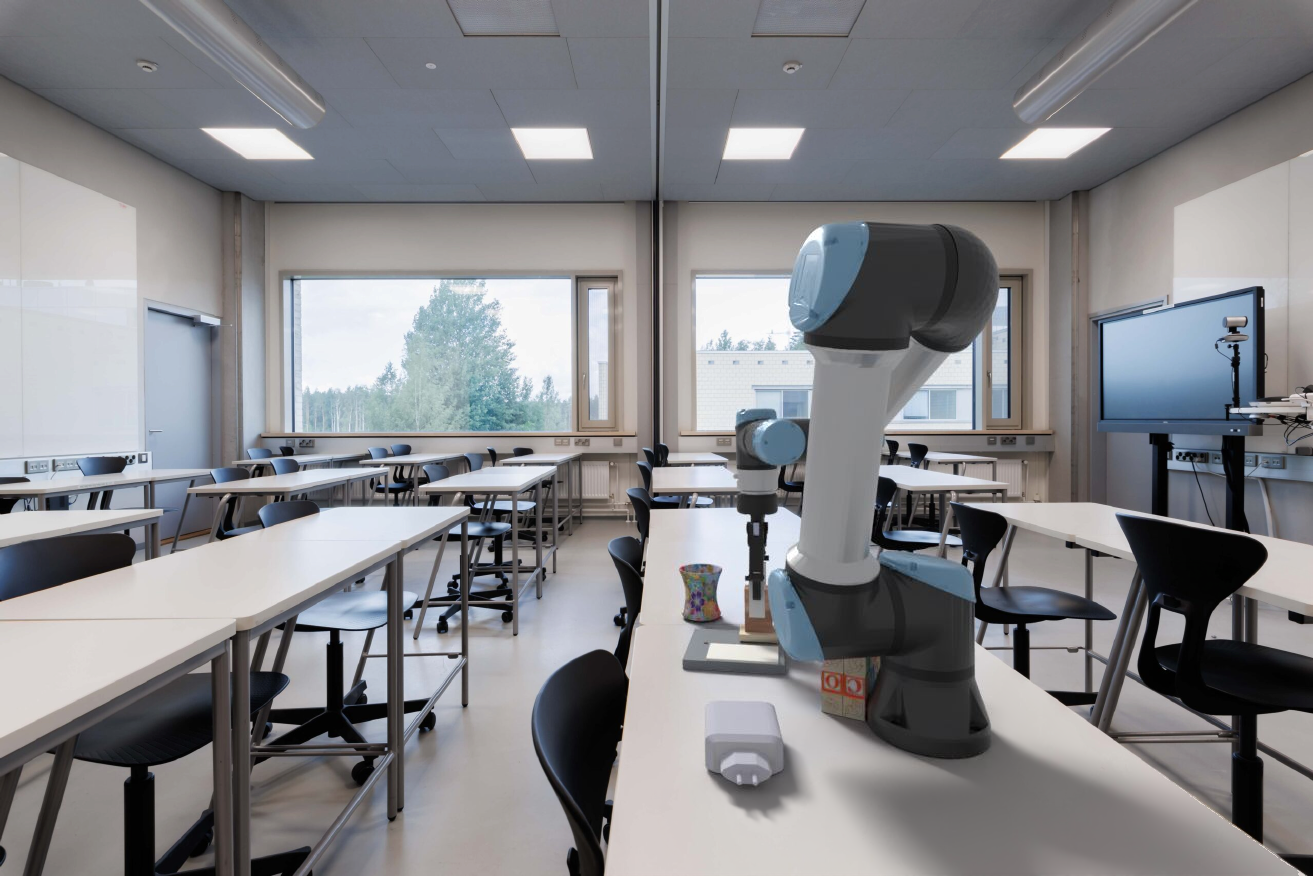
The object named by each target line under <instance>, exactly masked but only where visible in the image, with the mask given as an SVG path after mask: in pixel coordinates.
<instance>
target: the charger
mask: <svg viewBox="0 0 1313 876" xmlns="http://www.w3.org/2000/svg"><path fill="white" fill-rule="evenodd" d="M778 719H779V718H778V715H777V712H776V708H775V705H773V704H772V703H771V702H768V701H761V700H758V701H756V700H711V701H708V702H707V703H706V704H705V706H704V754H705V755H704V758H705V759H704V762H705V764H704V765H705V768H706V769H707V770H708V771H709V772H712V773H717V774H721V775H722V776H723V777H724V778H725V779H727V780H729V781H730V782H733V783H734V784H737V786H739V785H740V786H742V785H753V786H758V785H759V784H760V783H762V782H764V781H767V780H769V778H770V777H771V776H772V775H776V774H778V772H779V773H781V772H782V771H783V770H784V741H783V740H784V739H783V736H782V731H781V728H780V725H779V720H778Z"/></svg>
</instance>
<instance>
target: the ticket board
mask: <svg viewBox="0 0 1313 876" xmlns="http://www.w3.org/2000/svg"><path fill="white" fill-rule="evenodd" d="M739 632H740V630H738V629H737V630H733V629H715V628H714V629H712V628H694V630H693V632H692V635H691V637H690V640H689V642H688V645H687V647H686V650H685V652H684V655H683V657H682V659H681V660H682V669H690V670H704V671H720V672H721V671H722V672H737V673H740V672H741V673H753V674H754V673H756V674H769V675H783V676H784V675H786V674H785V673H786V672H785V670H786V669H785V666H786V665H785V651H784V649H783V647H782V645H781V643H780V641H779V639H778V643H769V642H750V641H739Z"/></svg>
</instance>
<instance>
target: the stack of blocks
mask: <svg viewBox="0 0 1313 876" xmlns="http://www.w3.org/2000/svg"><path fill="white" fill-rule="evenodd" d="M879 667H880V657H868V658H853V659H838V660H824V662H821V671H820V673H821V676H820V681H821V683H820V684H821V712H822V713H828V714H830V715H831V714H832V715H834V716H835V715H836V716H840V717H843V718H848V719H853V720H858V721H862V722H866V720H867V703H868V699H869V696H870V693H871V691H872V688H873V685H874V682H875V679H876V676H877V673H878V670H879Z"/></svg>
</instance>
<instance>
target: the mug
mask: <svg viewBox="0 0 1313 876" xmlns="http://www.w3.org/2000/svg"><path fill="white" fill-rule="evenodd" d="M678 571H679V573H680V575H681V578H682V581H683V586H684V589H685V590H684V593H685V598H684V599H685V600H684V606H683V608H682V610H681V615H682V616H683V618H685V619H687V620H689V621H694V622H708V621H713V620H716V619H718V618H720V617H721V615H722V611H721V610H720V606H719V604H718V603H719V602H718V594H717V592H718V585H719V582H720V581H719V579H720V577H721V574H722V572H723V567H722V566H719V565H716V564H712V563H690V564H685V565H681V566H680V567H679V568H678Z"/></svg>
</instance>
